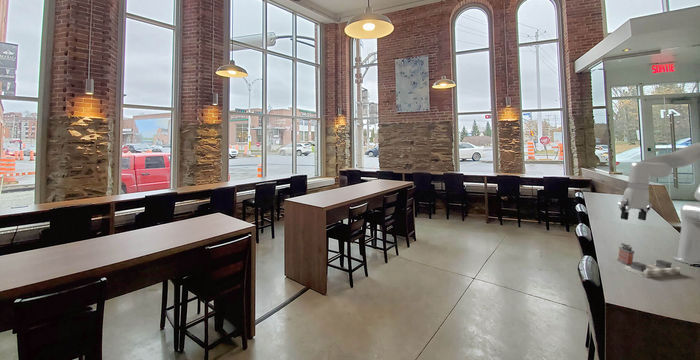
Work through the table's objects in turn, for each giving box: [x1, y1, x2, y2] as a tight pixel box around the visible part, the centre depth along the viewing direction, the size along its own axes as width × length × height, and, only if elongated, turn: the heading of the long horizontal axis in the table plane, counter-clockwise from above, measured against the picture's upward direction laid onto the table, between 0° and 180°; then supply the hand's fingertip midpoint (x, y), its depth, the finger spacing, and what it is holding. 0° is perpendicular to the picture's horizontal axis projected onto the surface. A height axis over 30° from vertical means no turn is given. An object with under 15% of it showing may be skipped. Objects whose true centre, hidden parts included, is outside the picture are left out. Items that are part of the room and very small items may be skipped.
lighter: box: [617, 242, 635, 266], centre depth 148 cm, size 8×3×10 cm, turn 168°
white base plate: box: [624, 259, 682, 278], centre depth 138 cm, size 20×9×4 cm, turn 99°
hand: (632, 219), depth 146 cm, fingers open, 9 cm apart
